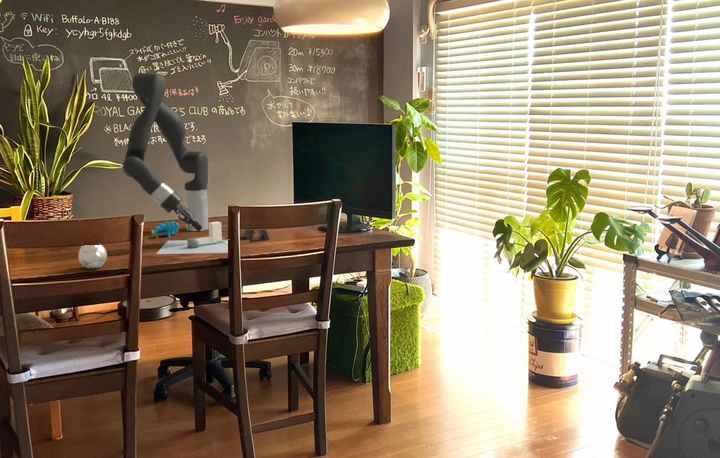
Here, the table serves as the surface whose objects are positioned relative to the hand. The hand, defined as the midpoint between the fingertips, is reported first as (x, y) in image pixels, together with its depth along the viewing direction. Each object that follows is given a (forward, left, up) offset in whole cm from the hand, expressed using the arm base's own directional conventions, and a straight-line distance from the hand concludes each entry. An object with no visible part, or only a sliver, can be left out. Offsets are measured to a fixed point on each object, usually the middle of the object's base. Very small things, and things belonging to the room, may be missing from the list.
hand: (200, 229), depth 271 cm
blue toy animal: (-15, -16, -7) cm, 23 cm away
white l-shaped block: (+4, +3, -5) cm, 7 cm away
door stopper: (-11, +20, -7) cm, 24 cm away
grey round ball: (+34, -31, -7) cm, 47 cm away
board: (+6, 0, -6) cm, 9 cm away
